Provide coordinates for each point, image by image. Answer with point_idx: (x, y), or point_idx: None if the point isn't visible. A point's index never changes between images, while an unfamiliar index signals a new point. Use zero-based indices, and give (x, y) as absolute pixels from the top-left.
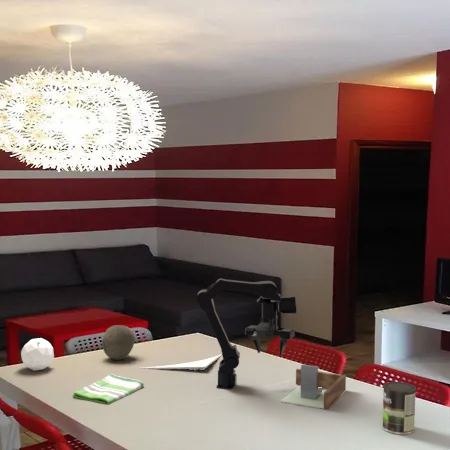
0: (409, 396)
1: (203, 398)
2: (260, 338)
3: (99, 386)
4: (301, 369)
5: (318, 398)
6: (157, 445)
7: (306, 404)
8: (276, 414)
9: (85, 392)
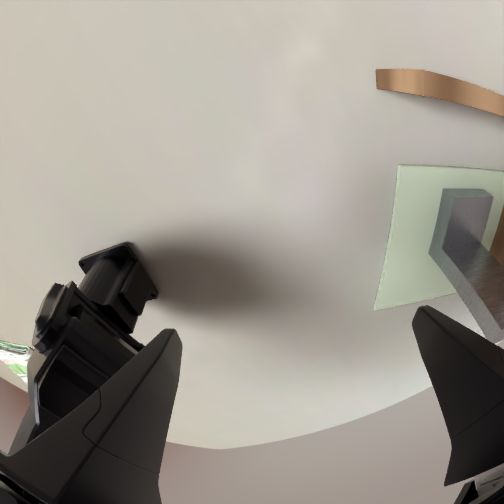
0: None
1: None
2: (96, 450)
3: (25, 375)
4: (484, 331)
5: None
6: (249, 445)
7: (441, 291)
8: (373, 360)
9: None
